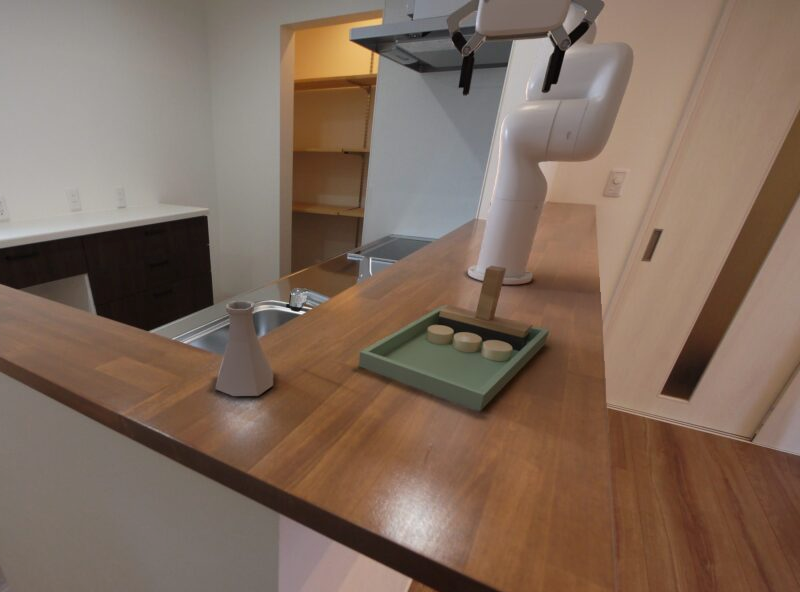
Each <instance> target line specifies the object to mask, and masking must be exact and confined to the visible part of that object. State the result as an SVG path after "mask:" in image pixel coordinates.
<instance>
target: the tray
mask: <svg viewBox="0 0 800 592" xmlns="http://www.w3.org/2000/svg"><path fill="white" fill-rule="evenodd" d="M447 306H448V305H445V304H443V305H441V306H440V307H437V308H435V309H434V310H432V311H430V312H429V313H427V314H425V315H423V316H422V317H420V318H418V319H416V320H414V321H413V322H410V323H409V324H407V325H406V326H403V327H402V328H400V329H397V331H394V332H393V333H391V334H389V335H387V336H385V337H384V338H382V339H380V340H379V341H377V342H375V343H373V344H371V345H369V346H368V347H366V348H364V349H362V350H360V351H359V359H358V360H359V361H358V367H360V368H363V369H365V370H367V371H371V372H374V373H376V374H378V375H381V376H384V377H386V378H389V379H392V380H394V381H398V382H400V383H403V384H405V385H408V386H410V387H413V388H416V389H418V390H422V391H425V392H427V393H429V394H432V395H434V396H437V397H440V398H443V399H445V400H448V401H451V402H453V403H456V404H458V405H462V406H465V407H467V408H469V409H472V410H474V411H477V412H481V411H482V410H483V409H484V408H485V407H486V406H487V405H488V404H489V402H491V400H493V398H494V397H495V396H497V394H498V393H499V392H500V391H501V390H502V389H503V388H504V387H505V386H506V385H507V384H508V383H509V382H510V381H511V380H512V379H513V378H514V377H515V376H516V375H517V374H518V372H519V371H520V370H521V369H522V368H523V367H524V366H526V364H527V363H528V362H529V361H530V360H531V359H532V358H533V357H534V356H535V355H536V354H537V353H538V351H540V350H541V348H542V347H544V346H545V344H546V342H547V340H548V337H549V333H550V330H549V329H546V328H542V327H537V326H533V325H532V328H531V331H530V335H529V338H528V341H527V345H525V346H524V347H523V348H522V349H521V350H520V351H517V350H513V349H512V352H511V356H510V358H509V360H506V361H494V360H490V359H487V358H485V357H483V356H482V355H481V350H482V345H483V343H484V341H482V342H481V346H480V349H479V351H477V352H463V351H459V350H457V349H455V348H454V347H453V346H452V344H453V339H454V335H455V333H453V338H452V342H451V343H448V344H436V343H432V342H430V341H428V340H427V339H426V334H427V329H428V327H429V326H432V325H438V321H439V316H440V310H442V309H444V308H445V307H447Z"/></svg>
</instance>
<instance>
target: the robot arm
mask: <svg viewBox="0 0 800 592" xmlns="http://www.w3.org/2000/svg"><path fill="white" fill-rule="evenodd" d="M604 8H605V2H604V0H469V1H468V2H467V3H465V4H464V5H462V6H460V7H459V8H458V9H456V10H454V12H452V13H450V14H449V15H448V16H447V17H446V25H447V28H448V32H449V35H450V39H451V42H452V45H453V46H454V48H455V49H456V50H457V52H458V53H459V54H460V56H461V57H462V63H461V68H460V75H459V81H458V89H462V96H465V97H466V96H468V95H470V90H471V85H472V81H473V80H472V79H473V75H474V69H475V62H476V61H475V60H476V58H475V53H476V52H477V51H478V49H479V48H480V47H481V46H482V45H483V44H484V43H485V42H486V43H493V42H495V43H497V42H498V43H499V42H512V41H526V40H527V41H528V40H540V39H542V41H541V45H540V47H539V49H538V52H537V56H536V58H535V60H534V63H533V66H532V69H531V71H530V74H529V77H528V80H527V84H526V88H525V100H526V102H523V103H520V104H517V105H515V106H514V107H513V108H511V109H510V110H509V111H508V112H507V113H506V115H505V116H504V118H503V121H502V124H501V128H500V132H499V144H498V145H499V146H498V160H497V167H496V174H495V180H494V184H493V188H492V194H491V199H490V203H489V208H488V212H487V217H486V222H485V226H484V230H483V236H482V241H481V246H480V250H479V255H478V259H477V264H474V265H471V266H469V268H468V270H467V275H468V276H469V277H471V278H472V279H475V280H478V281H481V282H483V280H484V275H485V271H486V268H488V267H490V266H496V267H502V268H506V271H505V275H504V279H503V283H502V285H523V284H528V283H530V282H531V281H532V279H533V276H534V275H533V273H532V272H531V271H529V270H527V267H528V263H529V259H530V257H531V252H532V248H533V246H534V241H535V238H536V234H537V230H538V227H539V223H540V220H541V216H542V212H543V208H544V204H545V201H546V197H547V194H548V181H547V179H546V176H545V174H544V173H543V171H542V169H541V167H540V165H539V163H546V162H559V163H560V162H563V163H564V162H565V163H567V162H568V163H579V162H589V161H591V160H594V159H596V158H598V156H599V155H600V154H601V153H602V152H603V150H604V149H605V147H606V145H607V144H608V142H609V139H610V136H611V133H612V131H613V128H614V125H615V122H616V120H617V117H618V114H619V111H620V109H621V105H622V103H623V99H624V96H625V94H626V91H627V87H628V85H629V81H630V79H631V74H632V71H633V66H634V58H635V57H634V50H633V48H632V47H631V45H630V44H628V43H626V42H621V41H612V42H611V41H610V42H600V43H599V42H598V43H594V42H595V39H596V36H597V31H598V27H597V24H596V20H597V18H598V16H599V15H600V14H601V13H602V11H603V10H604ZM475 14H476V17H475V29H474V31H475V32H474V34H473V35H472V36H471V37H470V38H469V40H467V39H466V37H464V35H463V34H462V31H461V28H460V26H461V23H463V22H464V21H465V20H467V19H468V18H470V17H471V16H473V15H475Z"/></svg>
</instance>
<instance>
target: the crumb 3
mask: <svg viewBox="0 0 800 592" xmlns="http://www.w3.org/2000/svg"><path fill="white" fill-rule="evenodd" d="M511 352H512V346H511V345H510V344H508V343H506V342H503V341H498V340H487V341H485V342H484V343H483V345H482V350H481V355H482V356H483V357H485V358H487V359H490V360H494V361H506V360H509V358H510V356H511Z"/></svg>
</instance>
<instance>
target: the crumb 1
mask: <svg viewBox="0 0 800 592" xmlns="http://www.w3.org/2000/svg"><path fill="white" fill-rule="evenodd" d="M453 333H454V330H453V329H452V328H450V327H447V326H443V325H432V326H429V327H428V329H427V334H426V339H427V340H428V341H430V342H432V343H436V344H448V343H451V342H452V338H453Z"/></svg>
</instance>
